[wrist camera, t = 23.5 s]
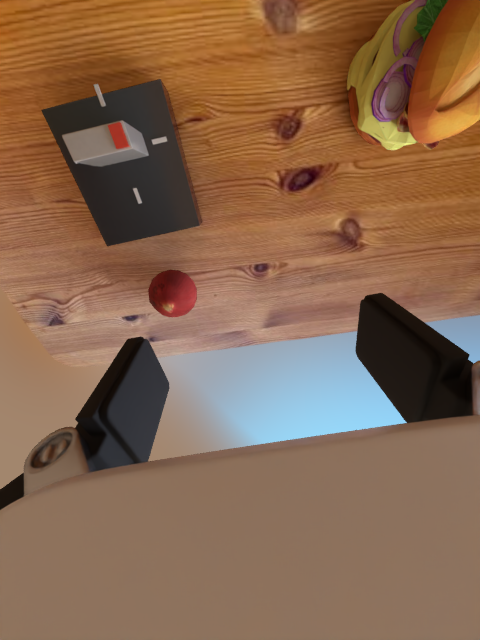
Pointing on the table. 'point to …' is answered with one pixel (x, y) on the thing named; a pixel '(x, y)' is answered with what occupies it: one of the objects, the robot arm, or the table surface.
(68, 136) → the knob
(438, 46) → the cheeseburger
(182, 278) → the onion
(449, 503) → the robot arm
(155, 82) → the dial base
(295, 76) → the table surface
